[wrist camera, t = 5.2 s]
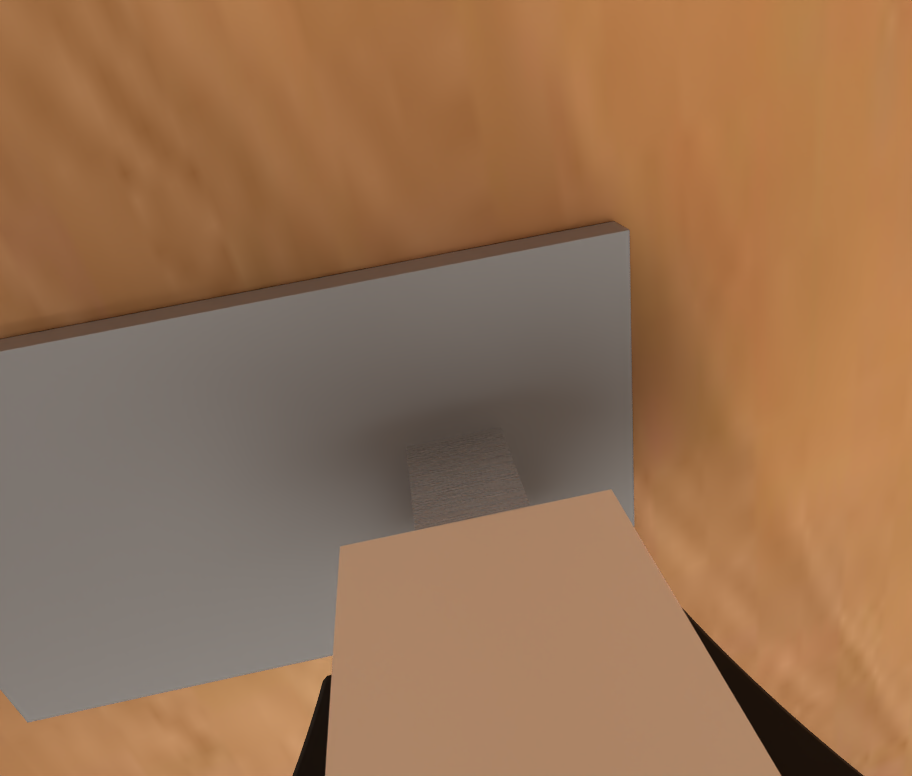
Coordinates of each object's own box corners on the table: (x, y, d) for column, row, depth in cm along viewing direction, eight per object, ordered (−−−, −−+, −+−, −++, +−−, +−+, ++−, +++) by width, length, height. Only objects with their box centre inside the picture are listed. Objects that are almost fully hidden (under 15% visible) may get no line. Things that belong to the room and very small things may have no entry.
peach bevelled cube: (396, 715, 13) (414, 1129, 8) (339, 546, 11) (311, 981, 6) (618, 666, 14) (775, 1036, 8) (611, 489, 11) (828, 854, 6)
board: (42, 693, 20) (27, 722, 19) (-204, 378, 14) (-242, 398, 13) (623, 567, 20) (635, 588, 20) (613, 221, 15) (629, 230, 14)
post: (420, 499, 18) (443, 672, 13) (404, 428, 17) (421, 586, 12) (504, 481, 18) (559, 645, 13) (493, 409, 17) (550, 558, 12)
